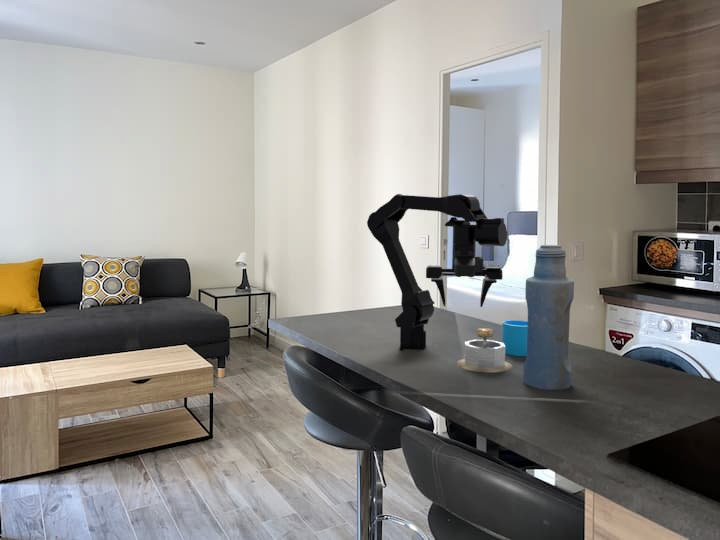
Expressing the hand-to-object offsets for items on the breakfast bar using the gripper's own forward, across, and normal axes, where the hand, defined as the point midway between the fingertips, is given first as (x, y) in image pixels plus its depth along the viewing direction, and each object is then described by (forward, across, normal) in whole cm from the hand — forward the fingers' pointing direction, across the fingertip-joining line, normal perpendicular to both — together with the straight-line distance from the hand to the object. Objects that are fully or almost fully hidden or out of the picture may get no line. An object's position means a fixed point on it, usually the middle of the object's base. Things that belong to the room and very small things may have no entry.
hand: (462, 306), depth 143 cm
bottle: (+13, +17, -22) cm, 31 cm away
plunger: (+11, +5, -9) cm, 15 cm away
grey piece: (+12, +5, -7) cm, 15 cm away
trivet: (+13, +5, -9) cm, 17 cm away
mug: (+13, +14, +7) cm, 21 cm away
